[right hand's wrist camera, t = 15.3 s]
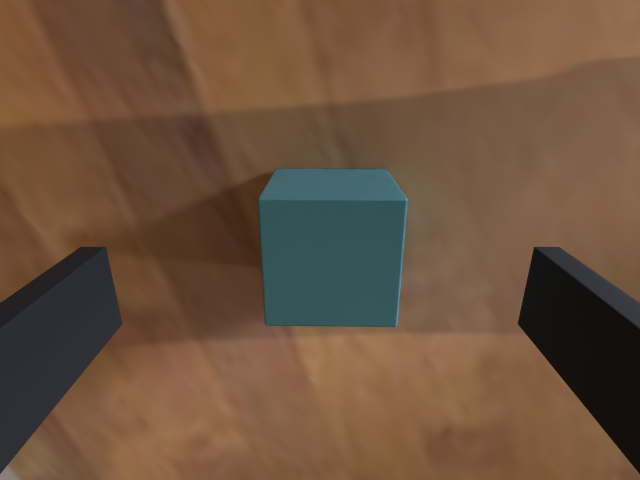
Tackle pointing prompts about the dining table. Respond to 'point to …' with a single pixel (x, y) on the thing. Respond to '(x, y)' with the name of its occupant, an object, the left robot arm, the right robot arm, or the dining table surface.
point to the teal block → (331, 247)
